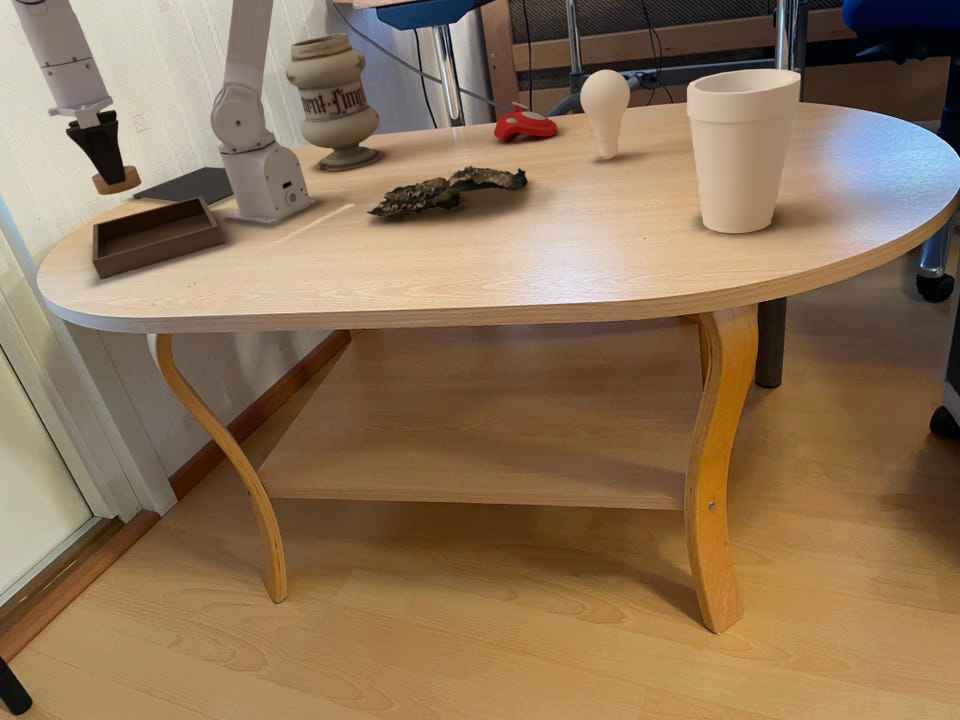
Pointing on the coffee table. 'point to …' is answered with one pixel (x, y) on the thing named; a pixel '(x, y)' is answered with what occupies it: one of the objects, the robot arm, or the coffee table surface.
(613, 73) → the lightbulb
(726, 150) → the foam cup
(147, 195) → the mat
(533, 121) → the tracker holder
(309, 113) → the apothecary jar
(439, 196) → the tree bark
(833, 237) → the coffee table surface
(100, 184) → the wooden puck
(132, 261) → the tray
